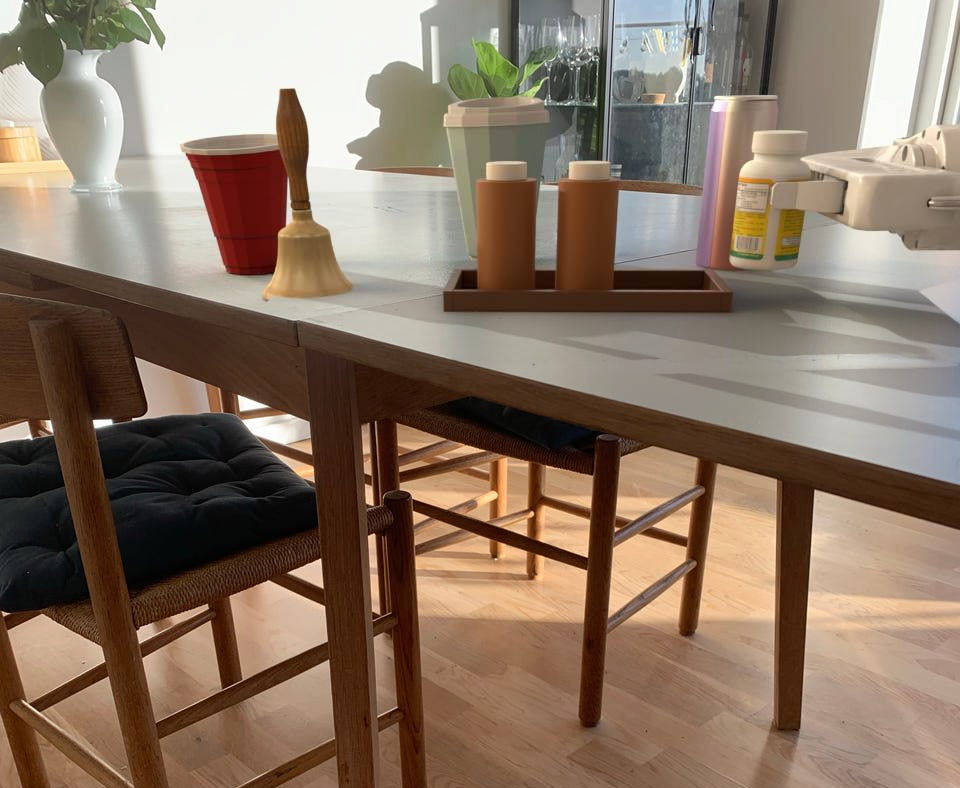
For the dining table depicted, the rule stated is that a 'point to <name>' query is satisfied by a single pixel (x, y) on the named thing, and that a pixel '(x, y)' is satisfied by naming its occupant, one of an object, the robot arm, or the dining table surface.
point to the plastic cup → (242, 197)
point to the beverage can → (728, 170)
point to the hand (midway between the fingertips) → (761, 190)
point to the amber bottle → (586, 227)
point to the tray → (597, 293)
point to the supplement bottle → (757, 226)
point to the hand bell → (301, 219)
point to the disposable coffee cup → (492, 146)
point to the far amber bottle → (506, 227)
